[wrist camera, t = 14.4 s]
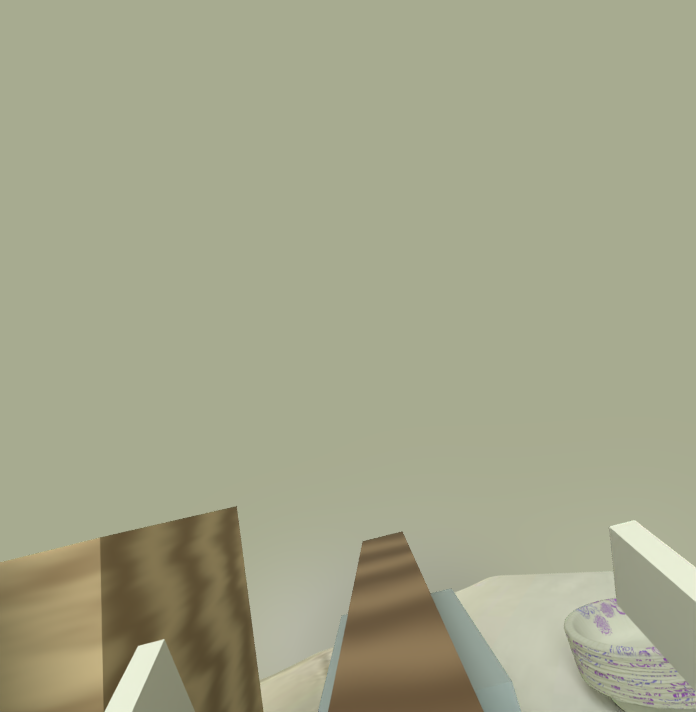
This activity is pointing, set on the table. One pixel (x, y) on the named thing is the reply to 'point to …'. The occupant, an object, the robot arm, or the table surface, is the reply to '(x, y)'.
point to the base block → (471, 650)
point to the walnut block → (397, 641)
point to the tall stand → (129, 617)
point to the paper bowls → (624, 661)
